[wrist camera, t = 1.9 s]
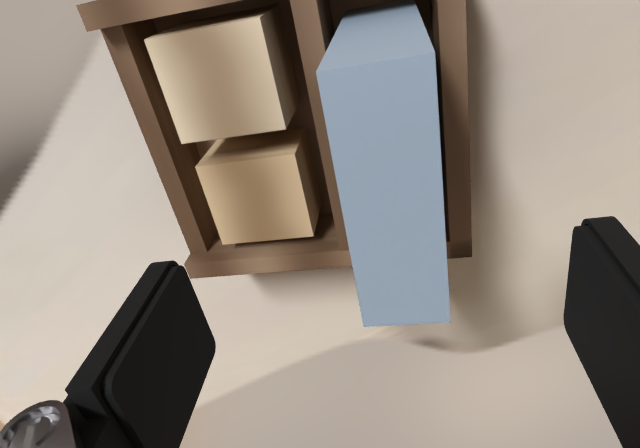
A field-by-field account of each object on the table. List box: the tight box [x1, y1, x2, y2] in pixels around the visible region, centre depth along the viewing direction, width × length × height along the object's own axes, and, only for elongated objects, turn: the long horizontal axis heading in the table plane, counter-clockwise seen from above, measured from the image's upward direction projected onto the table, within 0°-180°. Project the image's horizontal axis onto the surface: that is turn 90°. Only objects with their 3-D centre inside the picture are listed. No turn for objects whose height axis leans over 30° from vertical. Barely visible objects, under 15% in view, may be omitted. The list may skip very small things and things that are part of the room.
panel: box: [316, 0, 451, 327], centre depth 19 cm, size 3×9×11 cm, turn 11°
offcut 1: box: [144, 4, 300, 144], centre depth 21 cm, size 5×5×4 cm
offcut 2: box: [195, 127, 322, 245], centre depth 25 cm, size 5×5×4 cm
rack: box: [77, 0, 472, 279], centre depth 23 cm, size 15×14×5 cm
